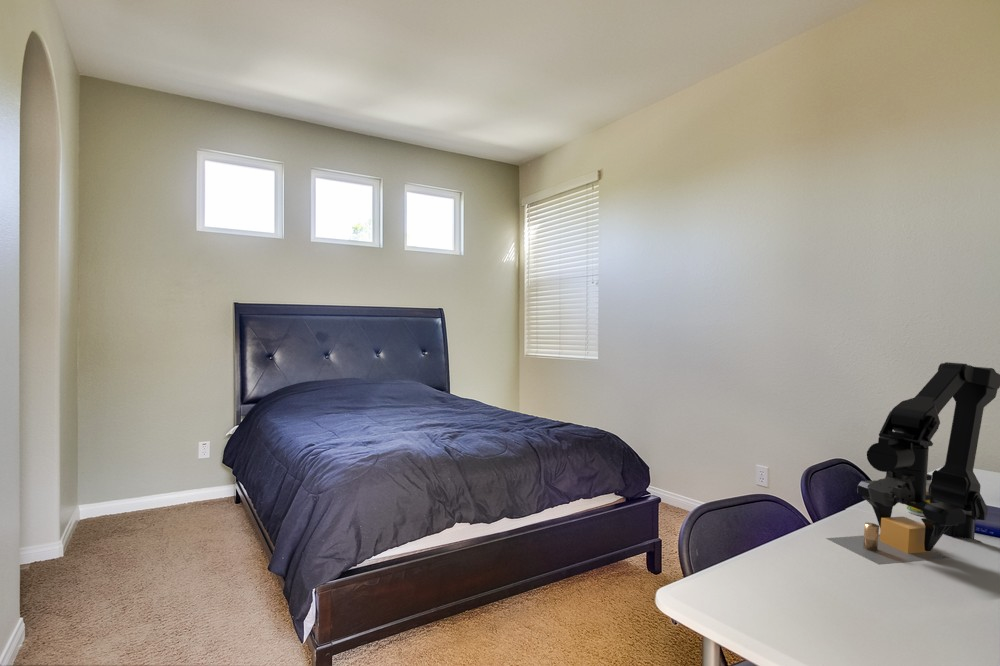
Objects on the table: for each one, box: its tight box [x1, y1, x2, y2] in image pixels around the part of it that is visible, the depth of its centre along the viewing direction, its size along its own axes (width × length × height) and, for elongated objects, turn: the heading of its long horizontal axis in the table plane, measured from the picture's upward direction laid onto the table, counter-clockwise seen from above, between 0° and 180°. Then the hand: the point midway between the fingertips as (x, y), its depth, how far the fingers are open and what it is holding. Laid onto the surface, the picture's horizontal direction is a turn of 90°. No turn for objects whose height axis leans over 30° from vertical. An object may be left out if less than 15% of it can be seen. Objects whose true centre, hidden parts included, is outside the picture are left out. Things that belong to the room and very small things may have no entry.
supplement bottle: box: [906, 480, 932, 518], centre depth 135 cm, size 5×5×10 cm
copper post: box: [863, 522, 880, 551], centre depth 108 cm, size 2×2×5 cm
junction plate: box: [825, 533, 950, 565], centre depth 109 cm, size 18×12×2 cm, turn 104°
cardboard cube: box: [879, 516, 931, 553], centre depth 110 cm, size 6×6×5 cm
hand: (904, 541), depth 110 cm, fingers open, 9 cm apart
